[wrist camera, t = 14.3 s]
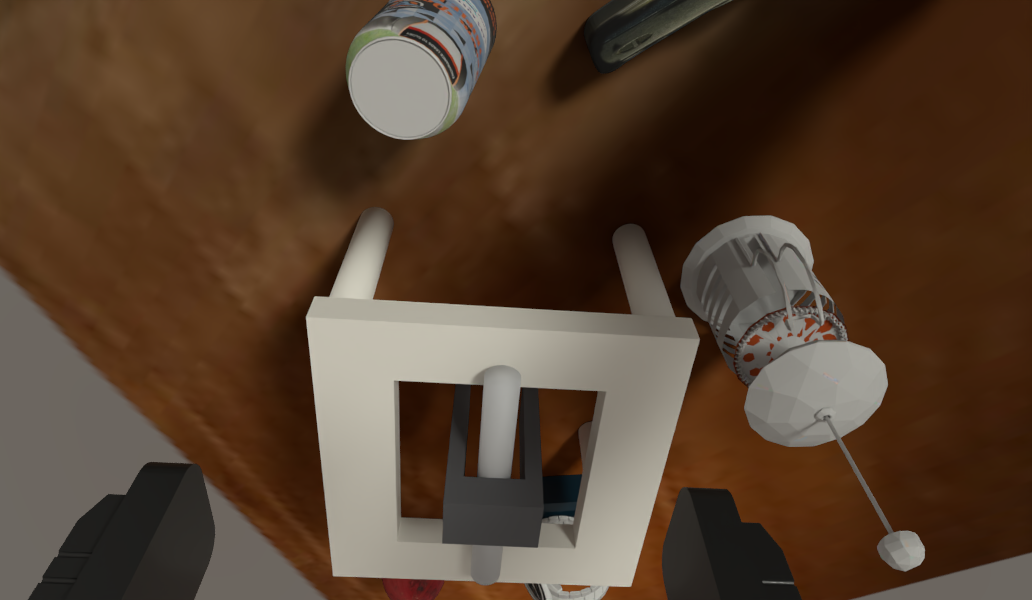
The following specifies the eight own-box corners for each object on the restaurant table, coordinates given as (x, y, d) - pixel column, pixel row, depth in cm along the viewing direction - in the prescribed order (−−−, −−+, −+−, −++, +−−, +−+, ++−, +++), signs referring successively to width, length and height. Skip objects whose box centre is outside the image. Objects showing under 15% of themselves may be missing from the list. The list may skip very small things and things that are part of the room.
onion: (412, 511, 66) (402, 587, 59) (460, 537, 68) (455, 613, 61) (376, 541, 68) (362, 617, 61) (423, 565, 70) (414, 641, 64)
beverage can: (517, 28, 42) (521, 87, 32) (426, 104, 44) (404, 180, 34) (448, -63, 39) (429, -31, 29) (356, 23, 42) (309, 80, 32)
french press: (685, 337, 55) (797, 641, 34) (671, 207, 49) (798, 481, 28) (812, 314, 54) (1008, 613, 33) (815, 178, 48) (1058, 440, 27)
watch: (513, 478, 63) (514, 586, 54) (601, 473, 63) (617, 580, 54) (517, 519, 67) (519, 627, 57) (601, 514, 66) (617, 621, 57)
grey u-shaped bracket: (537, 380, 48) (543, 507, 39) (533, 418, 50) (537, 547, 41) (456, 376, 48) (443, 503, 39) (455, 414, 50) (442, 543, 40)
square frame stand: (653, 221, 49) (709, 362, 36) (606, 444, 61) (635, 612, 48) (354, 201, 48) (296, 340, 35) (366, 433, 60) (326, 602, 47)
